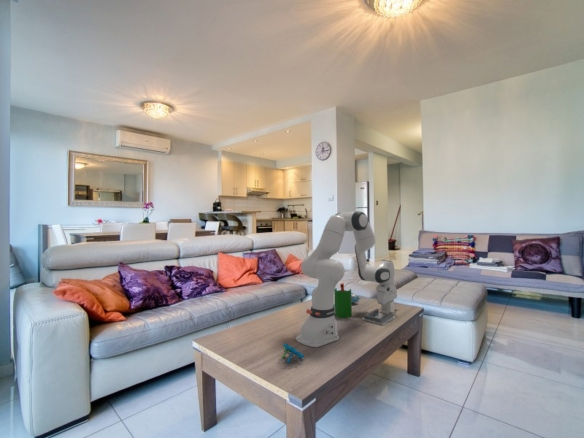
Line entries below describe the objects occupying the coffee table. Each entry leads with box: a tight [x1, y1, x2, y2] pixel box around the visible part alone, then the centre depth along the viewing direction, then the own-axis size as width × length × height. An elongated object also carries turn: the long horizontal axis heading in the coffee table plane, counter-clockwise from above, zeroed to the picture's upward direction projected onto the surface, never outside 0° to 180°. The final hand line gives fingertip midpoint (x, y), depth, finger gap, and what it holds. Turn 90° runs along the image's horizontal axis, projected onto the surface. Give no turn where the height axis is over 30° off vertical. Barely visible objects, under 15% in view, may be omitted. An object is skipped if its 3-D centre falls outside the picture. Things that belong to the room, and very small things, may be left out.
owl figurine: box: [334, 292, 362, 308], centre depth 193 cm, size 28×9×15 cm
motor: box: [334, 282, 353, 319], centre depth 168 cm, size 10×9×20 cm
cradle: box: [361, 308, 396, 326], centre depth 160 cm, size 15×13×3 cm
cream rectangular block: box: [380, 300, 395, 314], centre depth 171 cm, size 5×6×7 cm
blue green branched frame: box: [281, 343, 305, 364], centre depth 115 cm, size 11×6×10 cm
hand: (387, 308), depth 171 cm, fingers open, 8 cm apart
